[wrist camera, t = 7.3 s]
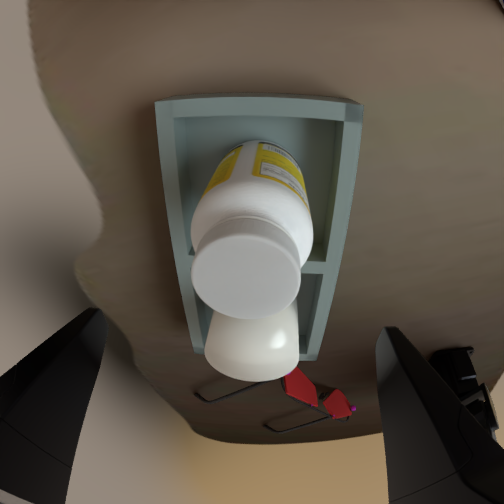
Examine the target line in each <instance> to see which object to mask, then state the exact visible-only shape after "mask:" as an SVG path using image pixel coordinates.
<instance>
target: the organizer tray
mask: <svg viewBox="0 0 504 504" xmlns="http://www.w3.org/2000/svg"><path fill="white" fill-rule="evenodd" d="M363 111H364V105H362V104H360V103H358V102H356V101H353V100H351V99H344V98H335V97H325V96H315V95H301V94H284V93H210V94H192V95H179V96H171V97H168V98H165V99H162V100H159V101H156V102H155V113H156V124H157V135H158V145H159V155H160V163H161V172H162V180H163V188H164V195H165V202H166V209H167V216H168V222H169V229H170V235H171V241H172V247H173V253H174V258H175V264H176V269H177V275H178V280H179V285H180V290H181V295H182V300H183V305H184V309H185V314H186V319H187V323H188V328H189V332H190V336H191V341H192V345H193V349H194V353H196V354H205V352H204V349H205V344H206V340H207V336H208V331H209V327H210V323H211V319H212V315H213V310H214V309H212V308H211V307H209V306H208V305H207V304H206V303H205V302H204V301H203V300H202V299H201V298H200V297H199V296H198V294H197V293H196V291H195V289H194V287H193V284H192V280H191V266H192V262H193V259H194V256H195V251H194V248H193V245H192V241H191V222H192V218H193V215H194V212H195V210H196V207H197V205H198V203H199V201H200V199H201V197H202V195H203V193H204V191H205V190H206V188H207V186H208V184H209V182H210V180H211V178H212V176H213V175H214V173H215V171H216V169H217V167H218V165H219V163H220V162H221V160H222V159H223V157H224V156H225V155H226V154H227V153H228V152H229V151H230V150H231V149H233V148H234V147H236V146H237V145H239V144H242V143H244V142H248V141H254V140H263V141H269V142H273V143H275V144H278V145H280V146H282V147H283V148H285V149H286V150H287V151H289V152H290V153H291V154H292V155H293V157H294V158H295V159H296V161H297V162H298V164H299V167H300V169H301V172H302V176H303V180H304V184H305V189H306V194H307V199H308V204H309V209H310V214H311V219H312V225H313V244H312V248H311V252H310V254H309V256H308V259H307V260H306V262H305V263H304V265H303V266H302V268H301V283H300V288H299V291H298V294H297V308H298V334H299V361H316V360H317V356H318V353H319V349H320V346H321V342H322V338H323V334H324V331H325V327H326V323H327V319H328V315H329V311H330V307H331V303H332V299H333V294H334V290H335V286H336V281H337V277H338V272H339V268H340V263H341V258H342V253H343V248H344V243H345V238H346V233H347V227H348V222H349V216H350V210H351V204H352V198H353V192H354V185H355V179H356V172H357V164H358V157H359V149H360V140H361V131H362V122H363Z"/></svg>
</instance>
